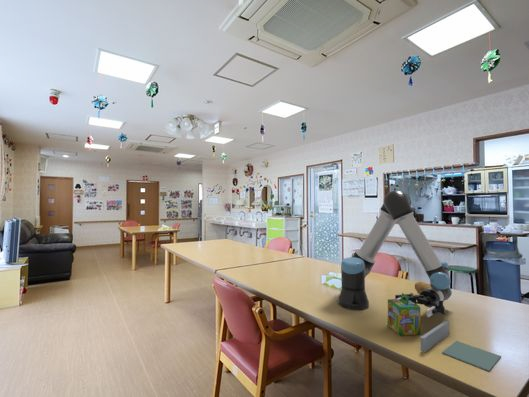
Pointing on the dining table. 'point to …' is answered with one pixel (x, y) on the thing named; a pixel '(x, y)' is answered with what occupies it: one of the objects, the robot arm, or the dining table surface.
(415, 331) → the chalk box
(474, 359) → the mat
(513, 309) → the dining table surface
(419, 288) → the potato
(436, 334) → the low wall
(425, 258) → the robot arm
